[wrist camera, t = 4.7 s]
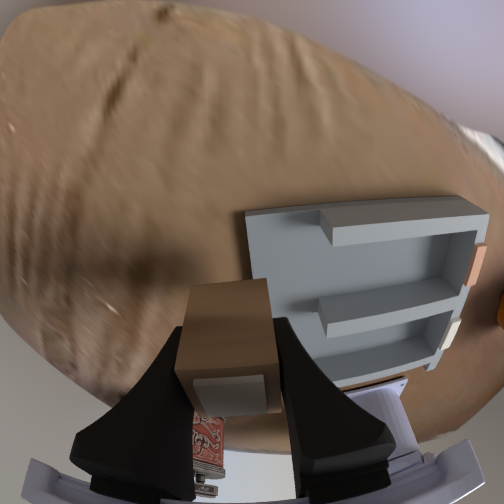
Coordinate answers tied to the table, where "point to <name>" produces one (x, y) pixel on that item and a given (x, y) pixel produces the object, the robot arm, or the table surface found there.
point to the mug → (501, 313)
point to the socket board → (370, 278)
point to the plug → (229, 350)
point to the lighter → (208, 453)
